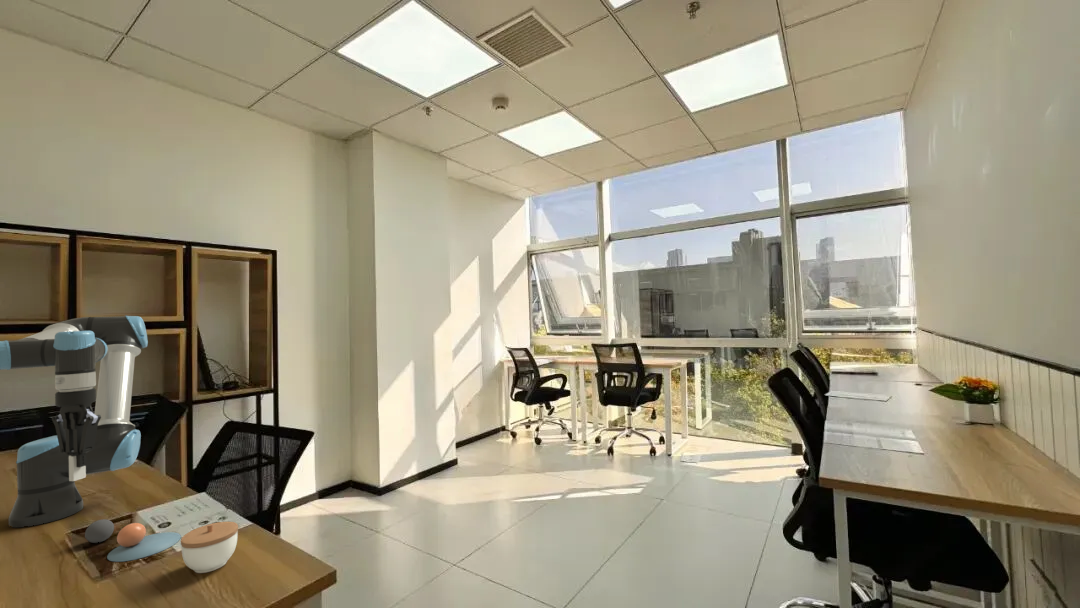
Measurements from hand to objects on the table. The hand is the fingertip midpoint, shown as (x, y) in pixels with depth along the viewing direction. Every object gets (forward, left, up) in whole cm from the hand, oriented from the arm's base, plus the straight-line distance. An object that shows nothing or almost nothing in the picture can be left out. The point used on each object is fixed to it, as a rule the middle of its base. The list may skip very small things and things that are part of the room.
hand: (77, 479), depth 118 cm
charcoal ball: (+6, +2, -14) cm, 15 cm away
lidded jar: (+47, 0, -17) cm, 50 cm away
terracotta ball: (+17, +2, -14) cm, 22 cm away
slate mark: (+21, +2, -16) cm, 27 cm away
